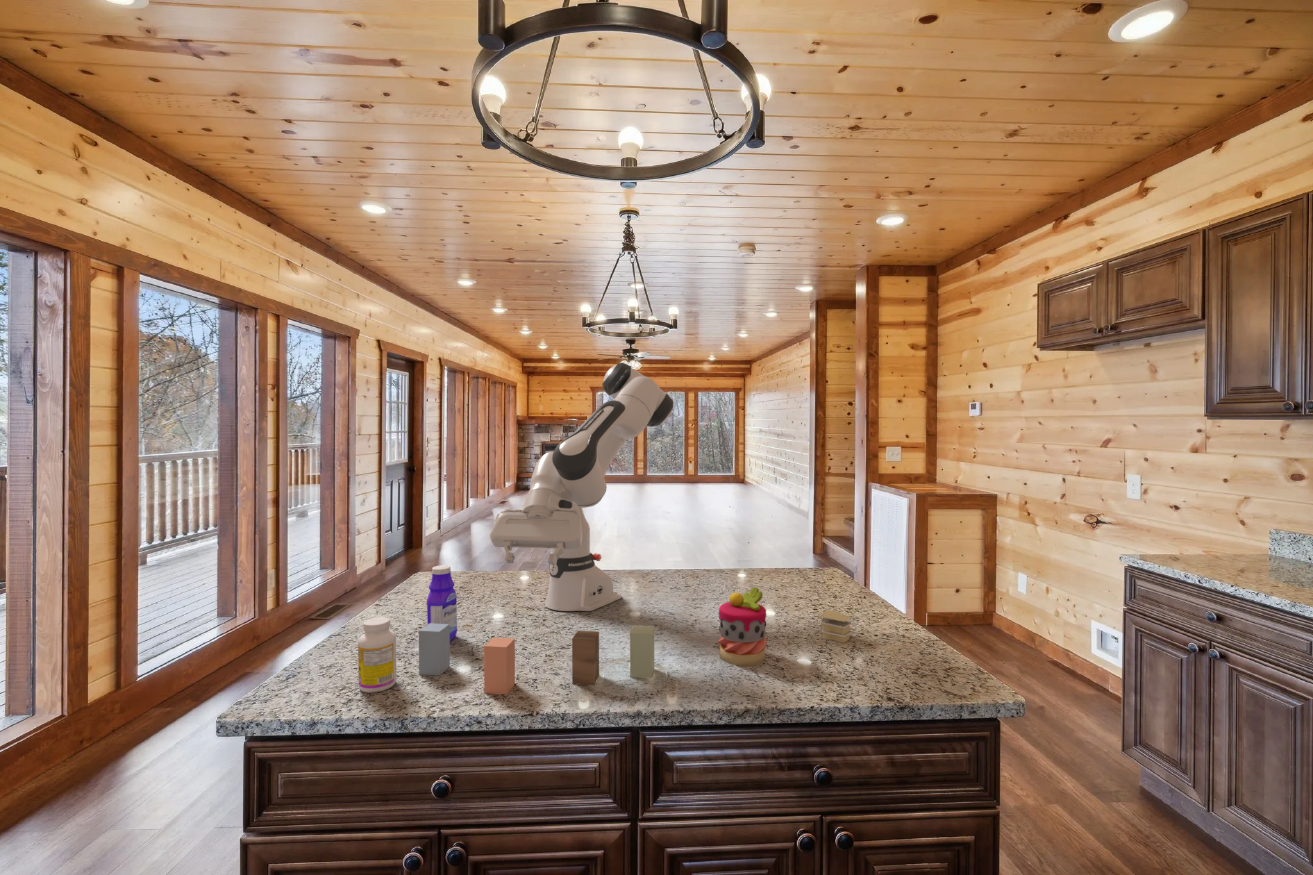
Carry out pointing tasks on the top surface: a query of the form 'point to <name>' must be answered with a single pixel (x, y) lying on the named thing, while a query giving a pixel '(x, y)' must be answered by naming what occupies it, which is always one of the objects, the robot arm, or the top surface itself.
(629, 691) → the top surface
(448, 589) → the bottle
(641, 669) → the sage block
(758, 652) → the cake
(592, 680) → the walnut block
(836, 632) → the pale yellow layered block
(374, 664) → the supplement bottle
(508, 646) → the terracotta block
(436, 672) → the slate block
